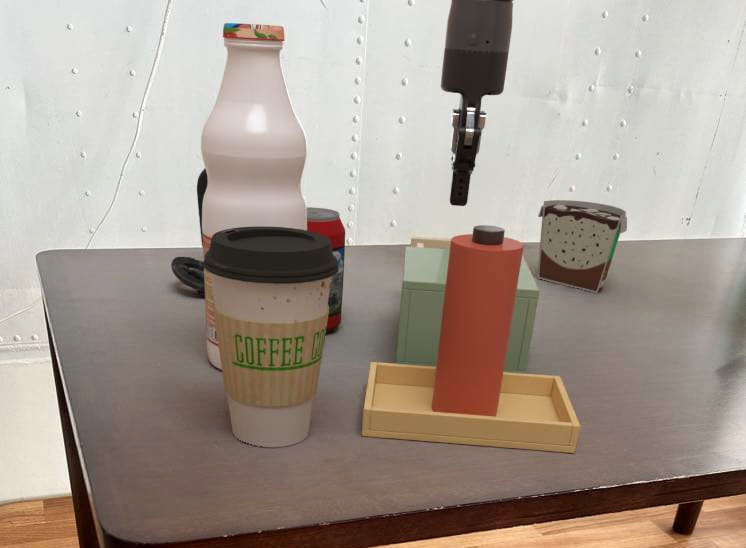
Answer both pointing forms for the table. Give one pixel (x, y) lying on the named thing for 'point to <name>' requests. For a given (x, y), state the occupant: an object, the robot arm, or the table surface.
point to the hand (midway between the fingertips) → (457, 204)
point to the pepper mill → (476, 321)
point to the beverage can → (333, 229)
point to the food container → (578, 242)
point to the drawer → (430, 242)
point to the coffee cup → (270, 326)
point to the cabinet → (426, 308)
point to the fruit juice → (251, 148)
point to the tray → (508, 429)
